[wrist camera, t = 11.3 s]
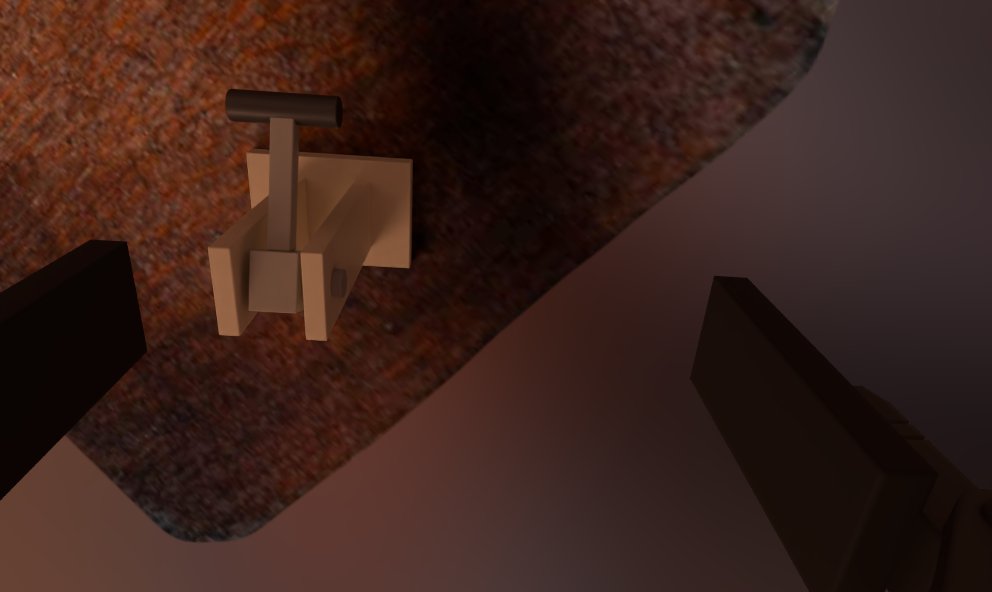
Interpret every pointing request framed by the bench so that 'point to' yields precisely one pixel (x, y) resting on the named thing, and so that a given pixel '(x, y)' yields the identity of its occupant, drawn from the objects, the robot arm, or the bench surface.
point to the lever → (281, 189)
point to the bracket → (319, 233)
